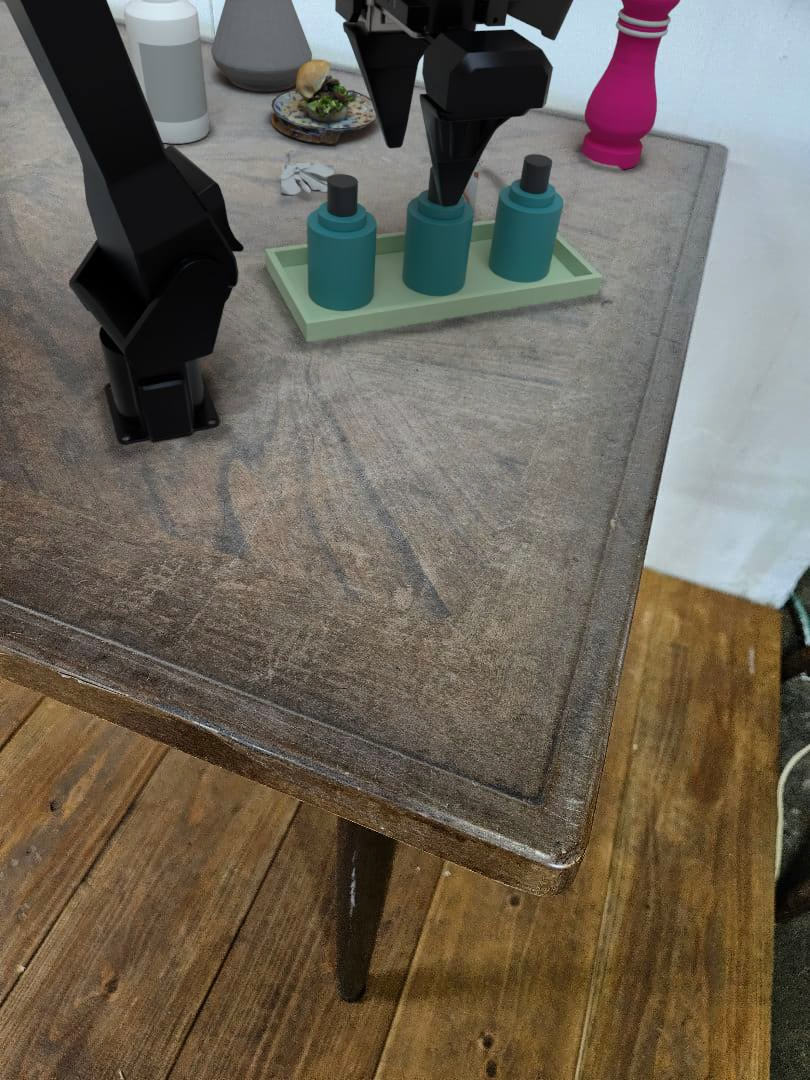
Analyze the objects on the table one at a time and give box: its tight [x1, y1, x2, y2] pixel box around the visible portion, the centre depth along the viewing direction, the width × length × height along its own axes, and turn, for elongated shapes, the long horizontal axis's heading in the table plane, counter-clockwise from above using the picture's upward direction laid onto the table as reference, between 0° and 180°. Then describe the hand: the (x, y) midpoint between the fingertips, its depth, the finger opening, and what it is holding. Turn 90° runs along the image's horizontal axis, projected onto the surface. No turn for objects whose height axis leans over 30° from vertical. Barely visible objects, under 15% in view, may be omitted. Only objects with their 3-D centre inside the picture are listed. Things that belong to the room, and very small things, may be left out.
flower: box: [278, 149, 336, 196], centre depth 78 cm, size 8×8×3 cm
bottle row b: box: [306, 173, 378, 311], centre depth 62 cm, size 5×5×9 cm
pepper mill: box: [580, 0, 681, 170], centre depth 81 cm, size 7×7×20 cm
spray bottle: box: [123, 0, 210, 145], centre depth 79 cm, size 7×7×18 cm
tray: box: [264, 219, 603, 343], centre depth 68 cm, size 11×25×2 cm, turn 112°
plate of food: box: [271, 46, 377, 145], centre depth 87 cm, size 12×12×8 cm
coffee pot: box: [210, 0, 313, 93], centre depth 91 cm, size 21×12×15 cm, turn 96°
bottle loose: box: [402, 166, 475, 296], centre depth 65 cm, size 5×5×9 cm
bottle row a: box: [489, 153, 564, 282], centre depth 67 cm, size 5×5×9 cm
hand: (420, 174), depth 55 cm, fingers open, 9 cm apart
